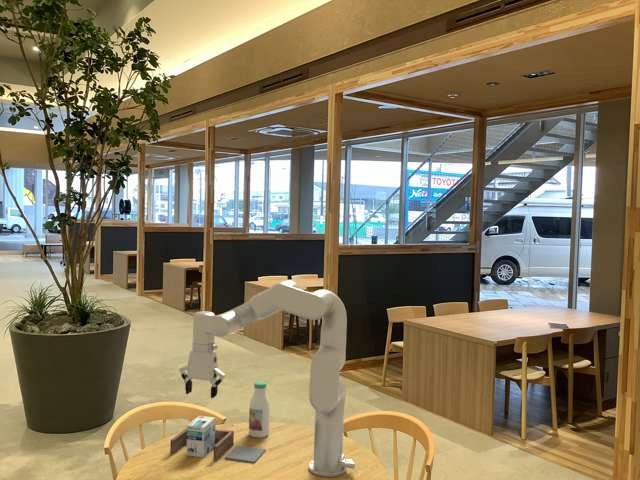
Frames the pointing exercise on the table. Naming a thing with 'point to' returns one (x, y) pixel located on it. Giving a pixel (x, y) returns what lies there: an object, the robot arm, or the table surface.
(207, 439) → the light bulb box
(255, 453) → the pad
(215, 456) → the cubby
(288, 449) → the table surface
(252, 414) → the milk bottle
